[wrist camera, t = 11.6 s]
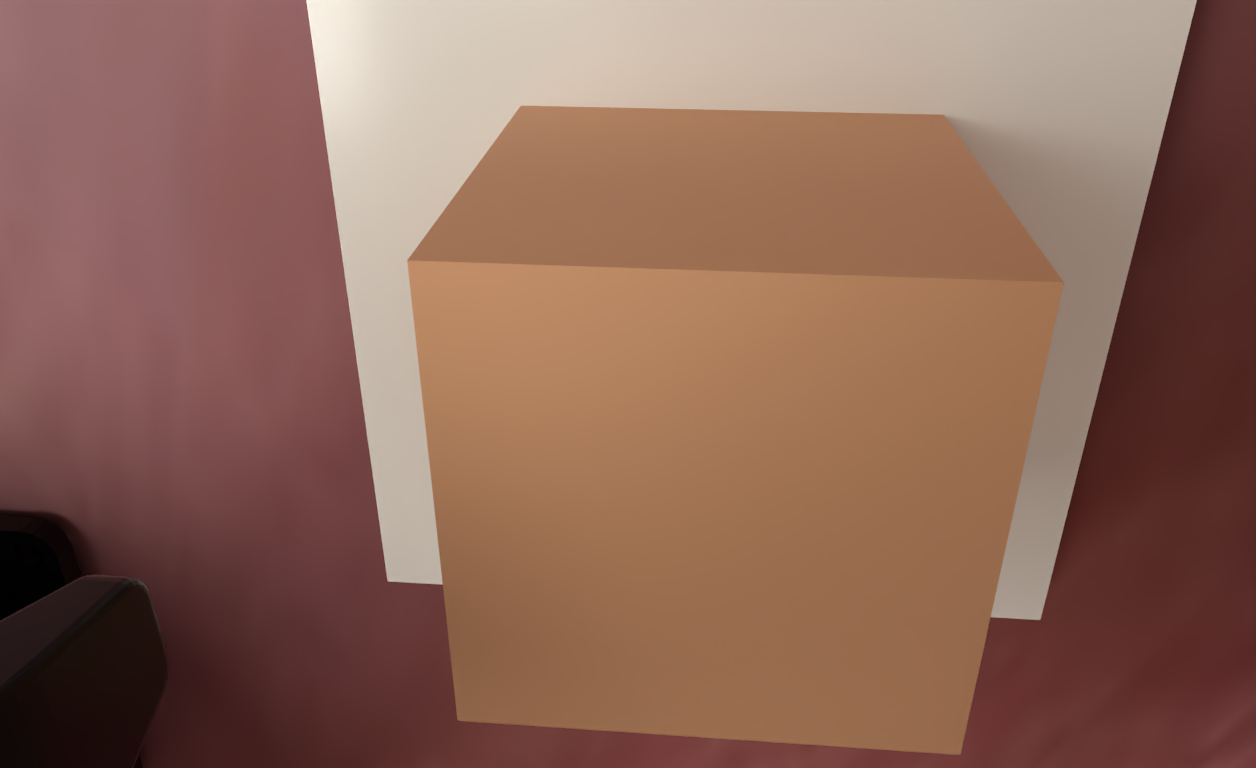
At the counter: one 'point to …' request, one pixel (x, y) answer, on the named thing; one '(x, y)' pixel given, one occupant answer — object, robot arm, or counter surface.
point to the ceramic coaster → (756, 81)
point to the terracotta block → (727, 422)
